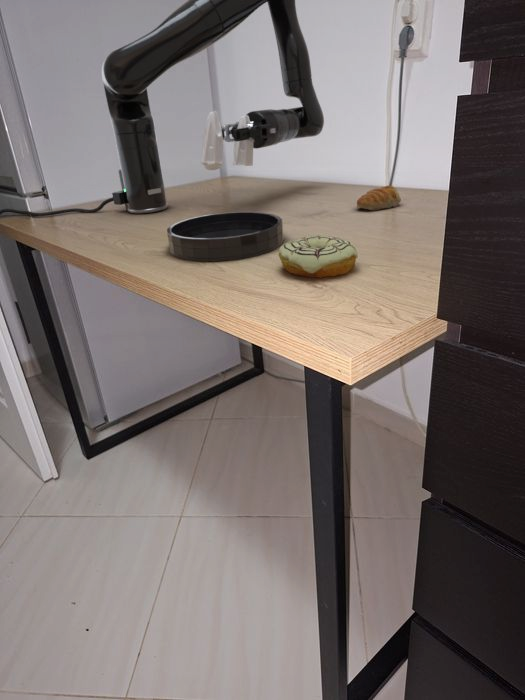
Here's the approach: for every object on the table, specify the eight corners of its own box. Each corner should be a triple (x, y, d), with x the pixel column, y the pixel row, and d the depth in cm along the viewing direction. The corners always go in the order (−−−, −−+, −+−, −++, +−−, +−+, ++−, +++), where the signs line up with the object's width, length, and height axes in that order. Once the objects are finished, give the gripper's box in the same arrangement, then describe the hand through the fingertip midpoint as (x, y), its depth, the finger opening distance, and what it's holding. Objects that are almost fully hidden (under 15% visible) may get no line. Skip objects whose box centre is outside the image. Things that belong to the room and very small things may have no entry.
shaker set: (203, 173, 101) (196, 112, 96) (198, 171, 104) (191, 112, 99) (258, 166, 104) (254, 107, 99) (251, 164, 108) (247, 107, 103)
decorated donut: (313, 286, 63) (312, 258, 62) (265, 269, 72) (263, 243, 70) (371, 267, 68) (372, 240, 67) (321, 253, 77) (320, 228, 75)
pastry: (373, 213, 99) (373, 193, 97) (348, 209, 103) (348, 191, 102) (403, 204, 104) (404, 185, 102) (377, 202, 108) (378, 183, 107)
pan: (146, 254, 84) (142, 233, 82) (218, 227, 98) (216, 209, 96) (238, 267, 73) (235, 243, 72) (304, 235, 87) (303, 215, 86)
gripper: (238, 111, 114) (190, 116, 102) (292, 108, 106) (247, 113, 94) (241, 146, 117) (195, 155, 105) (293, 145, 110) (250, 155, 98)
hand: (220, 135), depth 100 cm, fingers closed on shaker set, 7 cm apart
